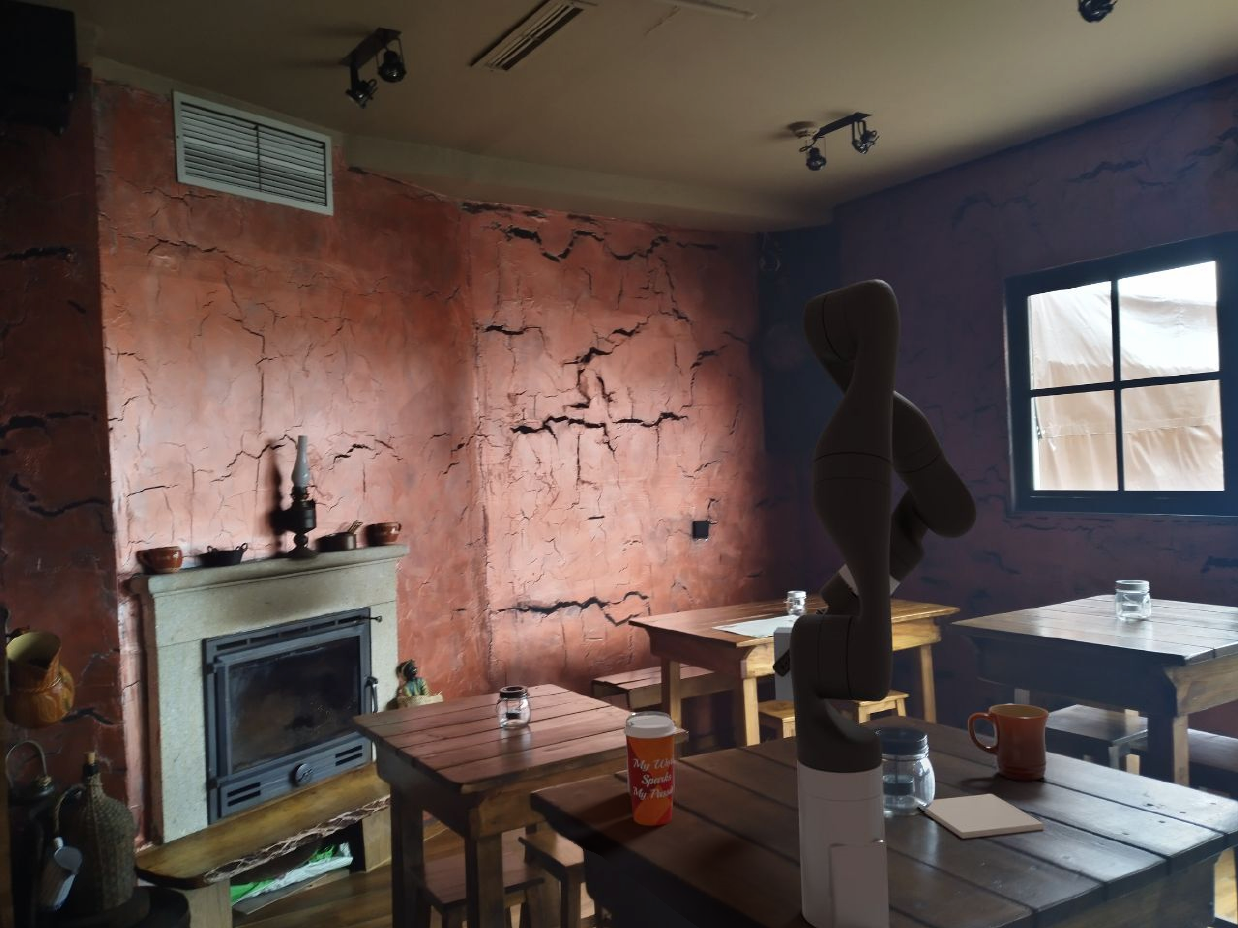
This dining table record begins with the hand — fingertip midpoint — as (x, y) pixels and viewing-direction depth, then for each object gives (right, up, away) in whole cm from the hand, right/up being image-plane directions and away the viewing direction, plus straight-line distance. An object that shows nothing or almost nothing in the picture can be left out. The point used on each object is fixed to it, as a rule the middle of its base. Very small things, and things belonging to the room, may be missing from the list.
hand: (779, 667), depth 137 cm
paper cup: (-19, -21, -4) cm, 29 cm away
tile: (+26, -19, -8) cm, 34 cm away
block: (+2, -4, -1) cm, 5 cm away
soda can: (-19, -21, +6) cm, 29 cm away
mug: (+38, -19, +10) cm, 44 cm away
